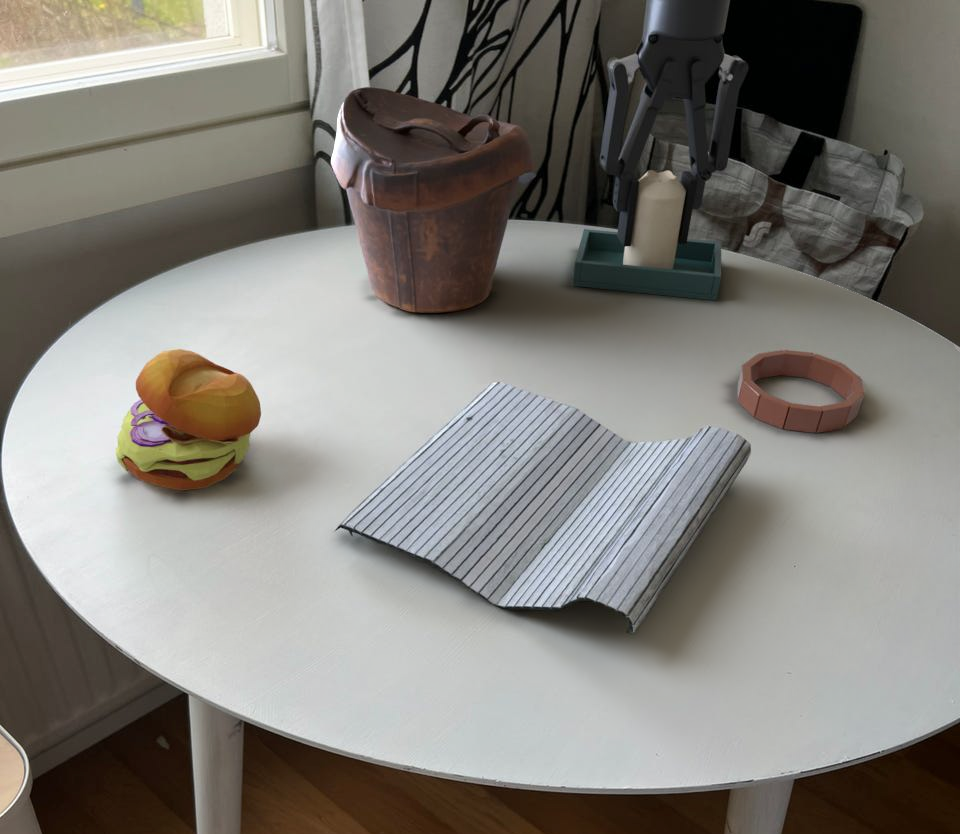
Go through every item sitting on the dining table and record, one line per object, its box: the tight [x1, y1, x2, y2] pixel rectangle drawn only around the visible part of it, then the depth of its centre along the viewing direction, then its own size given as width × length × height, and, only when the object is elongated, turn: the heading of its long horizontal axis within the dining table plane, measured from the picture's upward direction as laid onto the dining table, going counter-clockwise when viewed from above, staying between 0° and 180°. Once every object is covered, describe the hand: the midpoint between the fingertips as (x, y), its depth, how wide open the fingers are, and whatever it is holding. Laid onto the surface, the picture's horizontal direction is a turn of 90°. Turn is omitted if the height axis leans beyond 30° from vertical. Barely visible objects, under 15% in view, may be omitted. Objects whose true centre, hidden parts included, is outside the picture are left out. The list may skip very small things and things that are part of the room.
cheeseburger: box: [115, 348, 262, 491], centre depth 74 cm, size 10×11×10 cm
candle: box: [623, 169, 686, 270], centre depth 101 cm, size 6×6×10 cm
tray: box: [572, 228, 722, 302], centre depth 104 cm, size 15×9×3 cm, turn 80°
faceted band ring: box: [736, 349, 866, 434], centre depth 86 cm, size 11×11×2 cm
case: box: [330, 86, 537, 314], centre depth 95 cm, size 18×20×18 cm
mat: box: [333, 381, 752, 634], centre depth 72 cm, size 23×24×5 cm
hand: (651, 239), depth 102 cm, fingers closed on candle, 5 cm apart
